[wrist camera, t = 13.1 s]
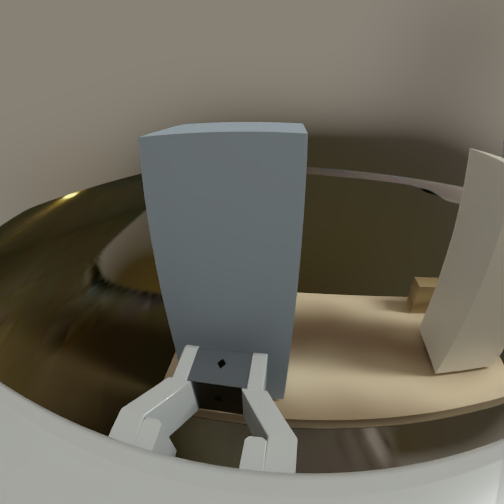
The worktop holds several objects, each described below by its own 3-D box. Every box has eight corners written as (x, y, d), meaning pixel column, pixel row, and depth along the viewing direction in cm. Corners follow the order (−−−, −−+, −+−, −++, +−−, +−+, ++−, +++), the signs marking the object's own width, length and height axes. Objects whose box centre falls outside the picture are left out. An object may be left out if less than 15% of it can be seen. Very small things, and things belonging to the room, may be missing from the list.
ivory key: (492, 365, 13) (568, 188, 7) (435, 373, 13) (515, 167, 8) (472, 326, 16) (526, 166, 11) (418, 328, 17) (469, 147, 11)
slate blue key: (283, 399, 13) (307, 133, 7) (186, 387, 14) (138, 137, 8) (287, 343, 17) (302, 123, 11) (204, 335, 17) (182, 124, 11)
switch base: (508, 401, 11) (536, 367, 10) (159, 408, 14) (143, 372, 12) (461, 306, 20) (475, 273, 19) (205, 296, 23) (201, 258, 21)
